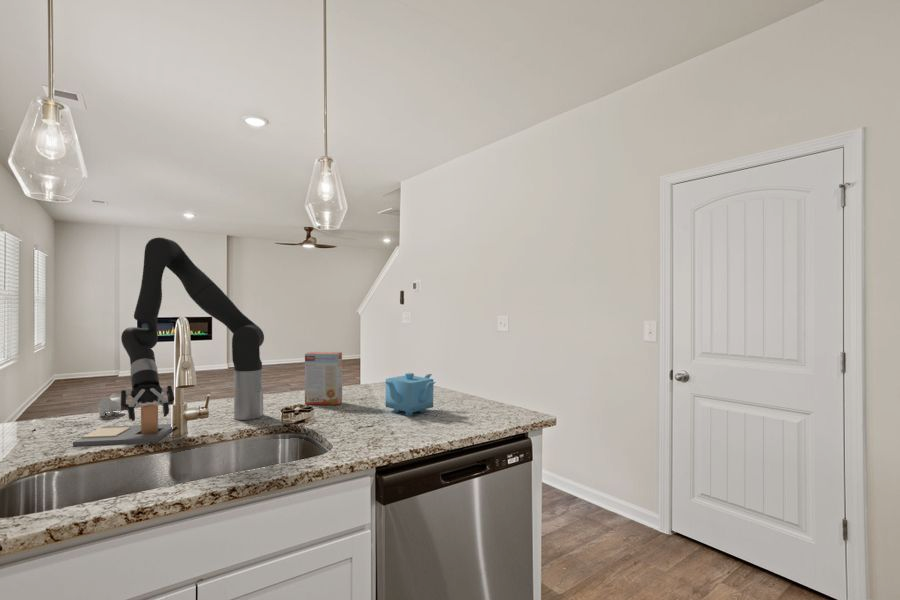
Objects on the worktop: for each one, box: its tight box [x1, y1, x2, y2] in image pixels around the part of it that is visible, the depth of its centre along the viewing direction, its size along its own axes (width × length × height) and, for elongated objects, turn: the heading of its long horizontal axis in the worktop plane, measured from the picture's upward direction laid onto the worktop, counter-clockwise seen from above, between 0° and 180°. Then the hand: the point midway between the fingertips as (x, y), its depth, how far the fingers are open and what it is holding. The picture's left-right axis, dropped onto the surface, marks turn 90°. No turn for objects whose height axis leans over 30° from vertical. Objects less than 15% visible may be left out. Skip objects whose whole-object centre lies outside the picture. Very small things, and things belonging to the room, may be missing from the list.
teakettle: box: [384, 372, 437, 417], centre depth 177 cm, size 19×19×15 cm
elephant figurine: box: [96, 393, 123, 417], centre depth 171 cm, size 8×10×7 cm
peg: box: [140, 404, 159, 434], centre depth 146 cm, size 4×4×9 cm
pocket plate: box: [72, 423, 172, 447], centre depth 145 cm, size 22×16×2 cm
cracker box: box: [304, 351, 343, 406], centre depth 190 cm, size 14×6×21 cm, turn 84°
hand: (149, 417), depth 145 cm, fingers open, 8 cm apart
